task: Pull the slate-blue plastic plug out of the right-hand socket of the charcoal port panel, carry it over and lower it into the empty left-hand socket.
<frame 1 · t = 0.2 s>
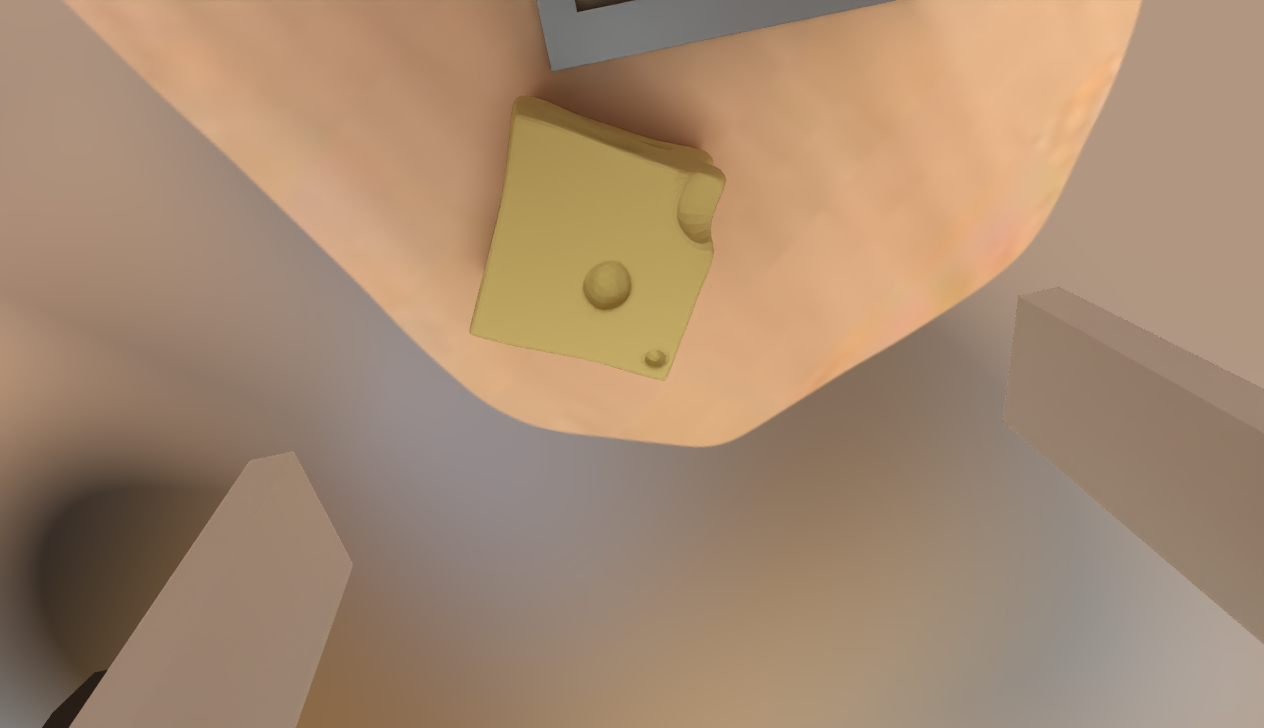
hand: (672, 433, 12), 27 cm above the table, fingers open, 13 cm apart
cheese: (585, 211, 37), on the table
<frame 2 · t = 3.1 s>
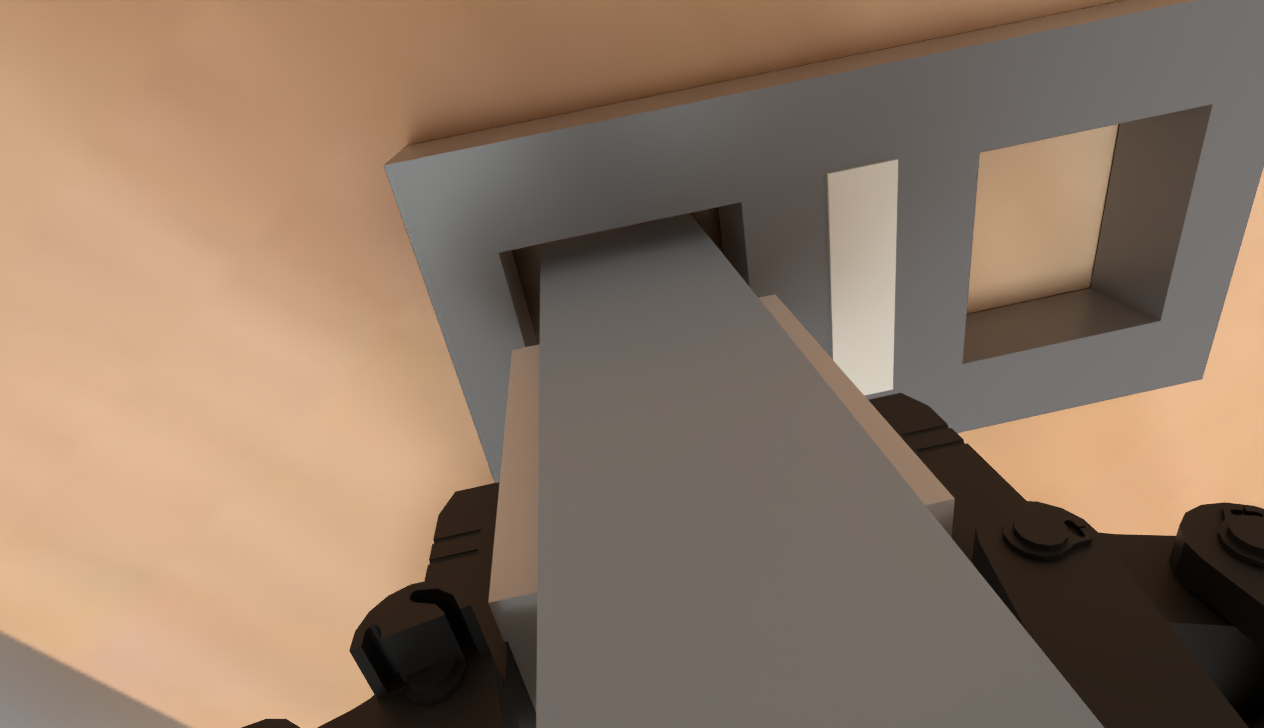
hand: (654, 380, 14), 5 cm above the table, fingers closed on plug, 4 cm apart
port panel: (822, 258, 18), on the table
plug: (629, 298, 18), resting in port panel, touching gripper
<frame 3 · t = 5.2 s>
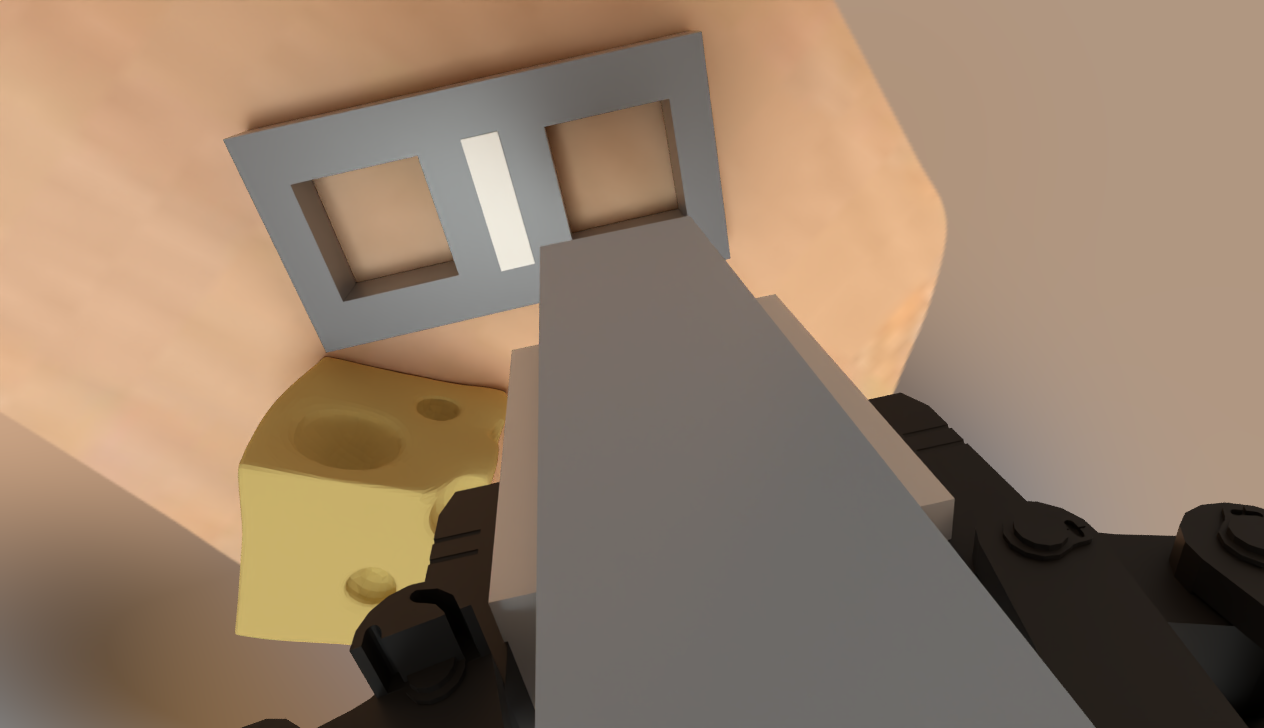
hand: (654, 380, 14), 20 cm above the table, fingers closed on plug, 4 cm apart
port panel: (502, 191, 31), on the table
plug: (628, 300, 18), point 15 cm above the table, touching gripper
cheese: (399, 444, 37), on the table
when the fingers open (6 cm above the table, at t = 7.4 s): plug drops 1 cm, resting in port panel.
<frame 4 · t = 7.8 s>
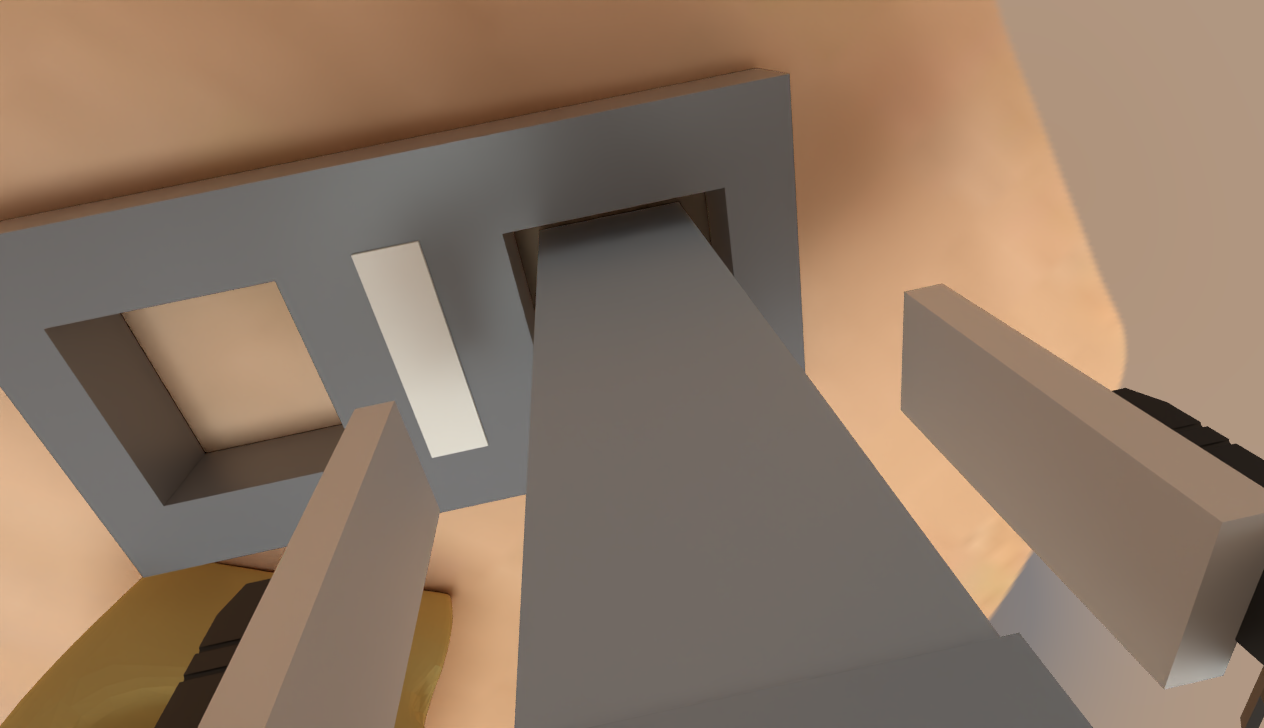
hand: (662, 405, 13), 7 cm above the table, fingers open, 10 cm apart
port panel: (439, 319, 19), on the table
plug: (621, 281, 19), resting in port panel
cheese: (293, 662, 25), on the table
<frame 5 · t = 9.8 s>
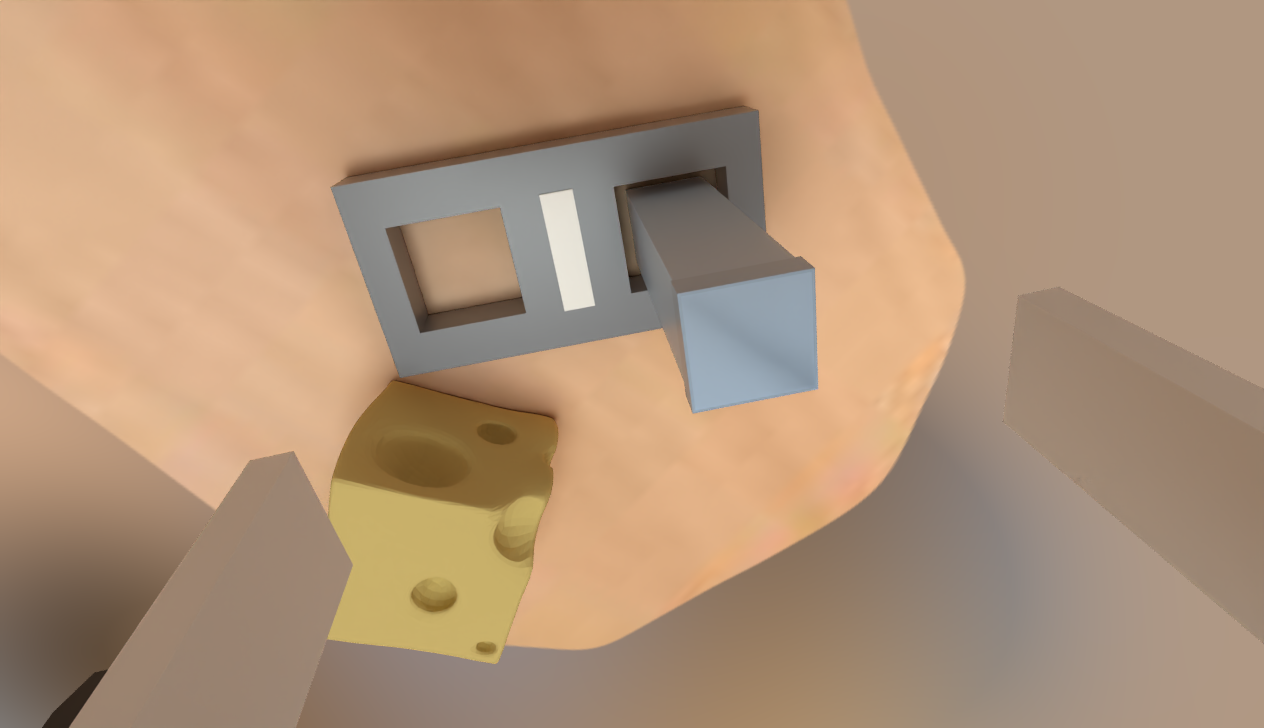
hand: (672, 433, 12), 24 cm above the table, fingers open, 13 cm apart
port panel: (567, 238, 34), on the table
plug: (668, 220, 34), resting in port panel
cheese: (451, 464, 40), on the table
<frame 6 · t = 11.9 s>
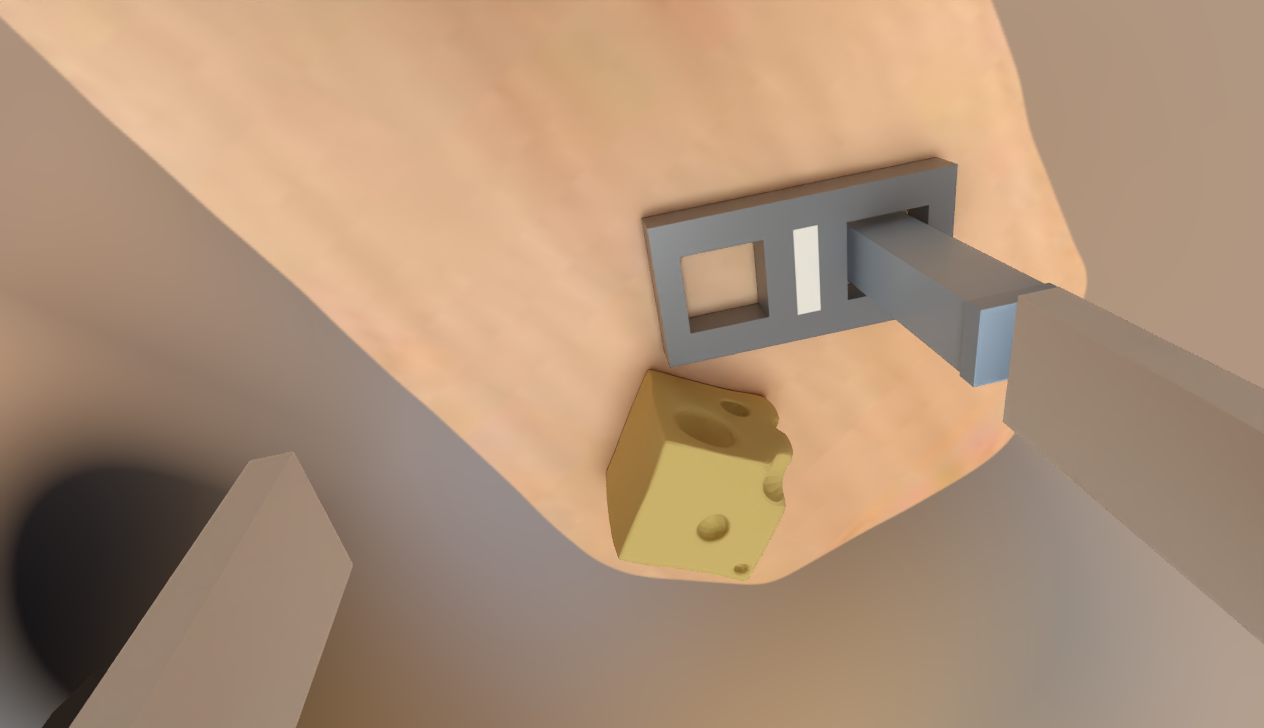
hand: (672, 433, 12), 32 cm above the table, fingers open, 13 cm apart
port panel: (793, 259, 45), on the table
plug: (869, 243, 45), resting in port panel
cheese: (680, 434, 51), on the table
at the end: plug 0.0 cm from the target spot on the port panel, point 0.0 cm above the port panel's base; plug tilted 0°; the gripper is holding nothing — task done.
